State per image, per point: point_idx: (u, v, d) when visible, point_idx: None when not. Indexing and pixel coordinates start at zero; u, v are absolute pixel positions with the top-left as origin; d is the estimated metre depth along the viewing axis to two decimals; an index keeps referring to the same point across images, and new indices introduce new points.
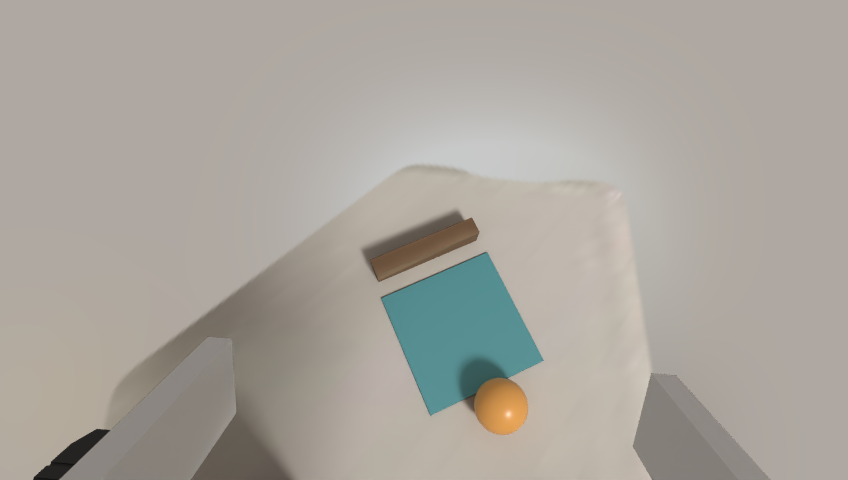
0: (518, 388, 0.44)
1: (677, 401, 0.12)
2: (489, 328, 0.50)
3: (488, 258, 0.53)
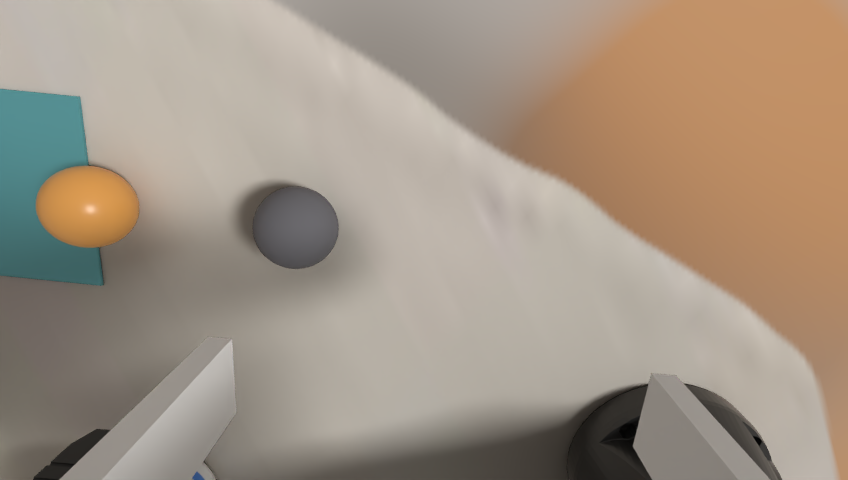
0: (55, 176, 0.27)
1: (677, 400, 0.12)
2: (6, 147, 0.31)
3: None
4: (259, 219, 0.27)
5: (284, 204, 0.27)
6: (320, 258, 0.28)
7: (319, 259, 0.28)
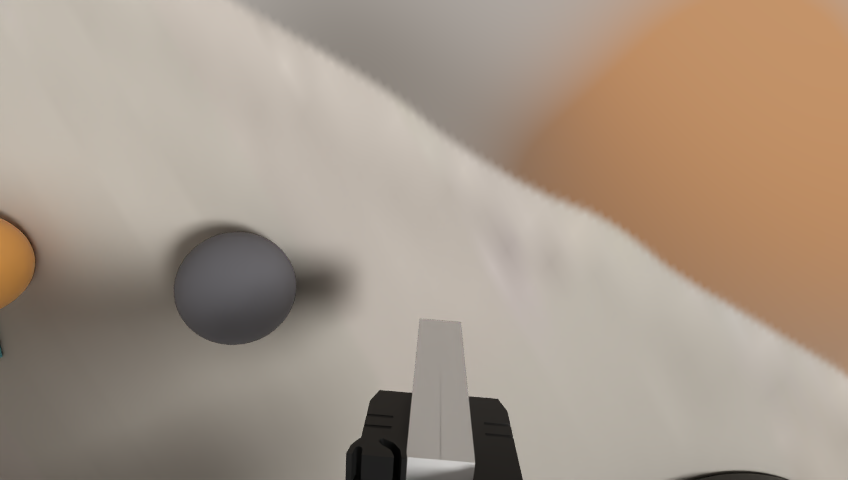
0: None
1: (442, 338, 0.14)
2: None
3: None
4: (179, 283, 0.19)
5: (212, 261, 0.19)
6: (269, 330, 0.21)
7: (268, 331, 0.21)
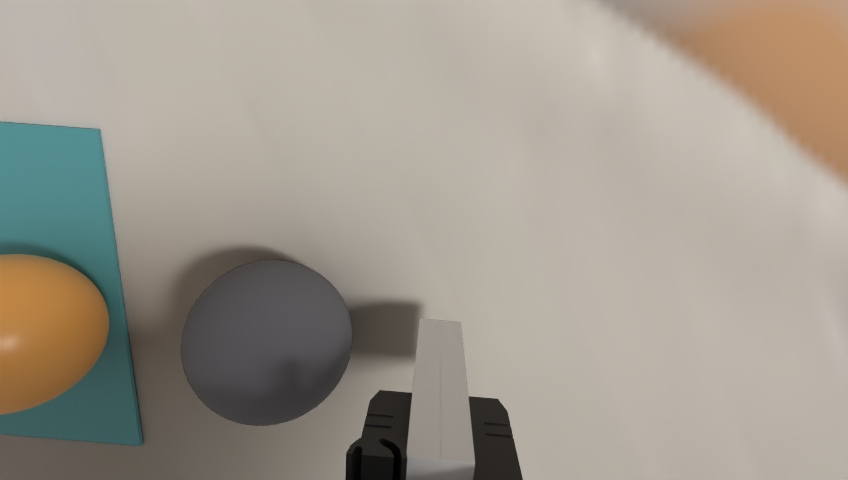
0: None
1: (442, 338, 0.14)
2: None
3: None
4: None
5: None
6: None
7: None
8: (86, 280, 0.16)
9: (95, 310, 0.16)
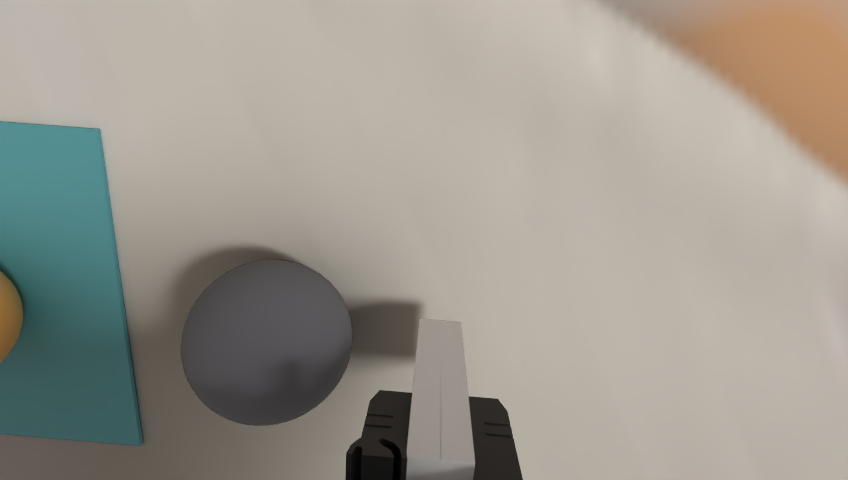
0: None
1: (442, 338, 0.14)
2: None
3: None
4: None
5: None
6: None
7: None
8: None
9: None
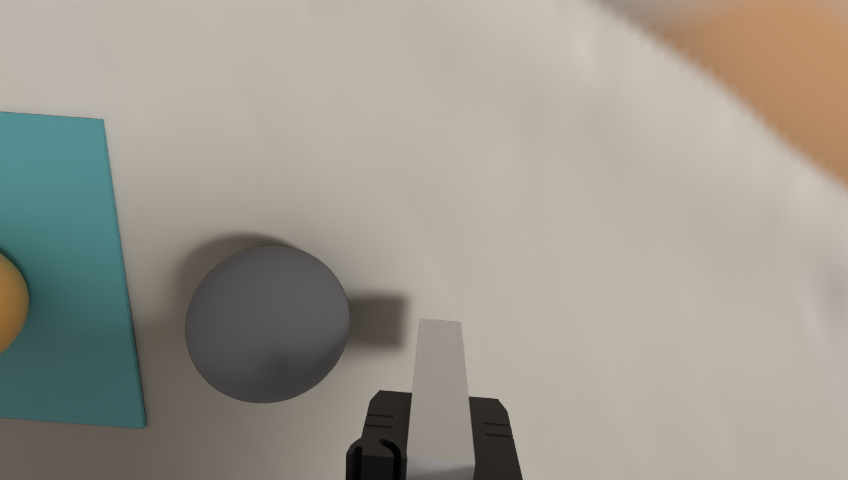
0: None
1: (442, 338, 0.14)
2: None
3: None
4: None
5: None
6: None
7: None
8: None
9: None
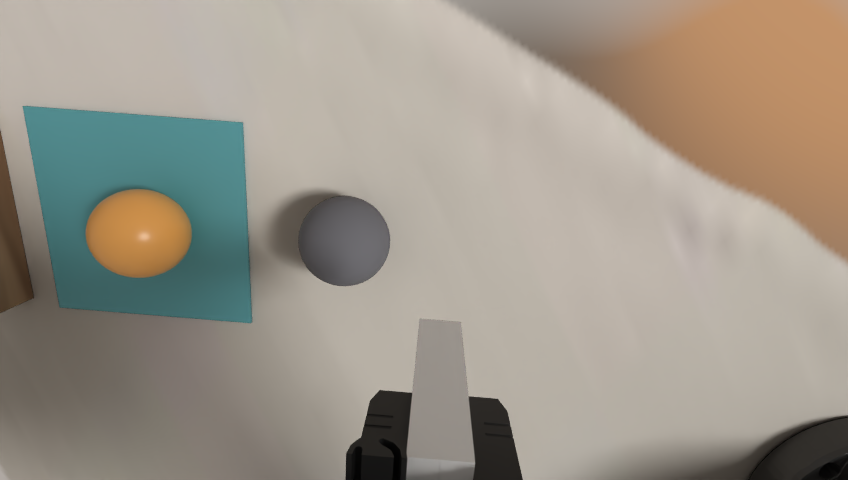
0: None
1: (443, 338, 0.14)
2: (159, 178, 0.28)
3: (35, 110, 0.27)
4: None
5: None
6: None
7: None
8: (154, 215, 0.25)
9: (138, 233, 0.24)
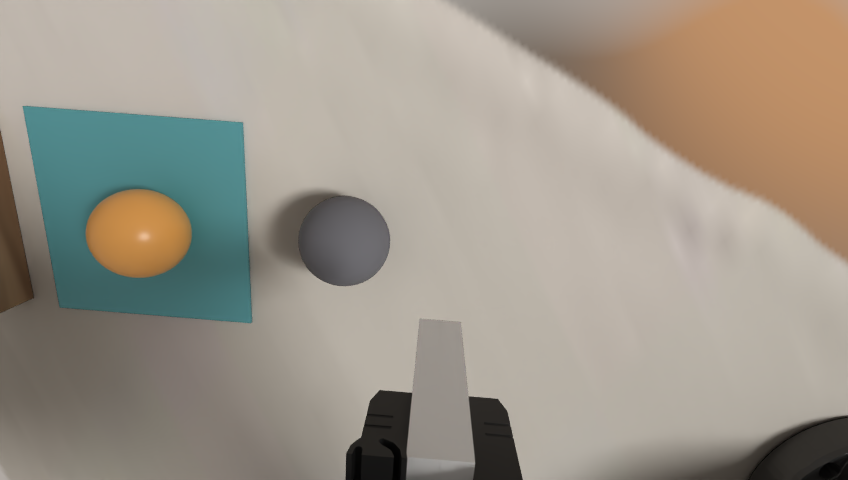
0: None
1: (443, 338, 0.14)
2: (159, 178, 0.28)
3: (35, 110, 0.27)
4: None
5: None
6: None
7: None
8: (154, 215, 0.25)
9: (138, 233, 0.24)
